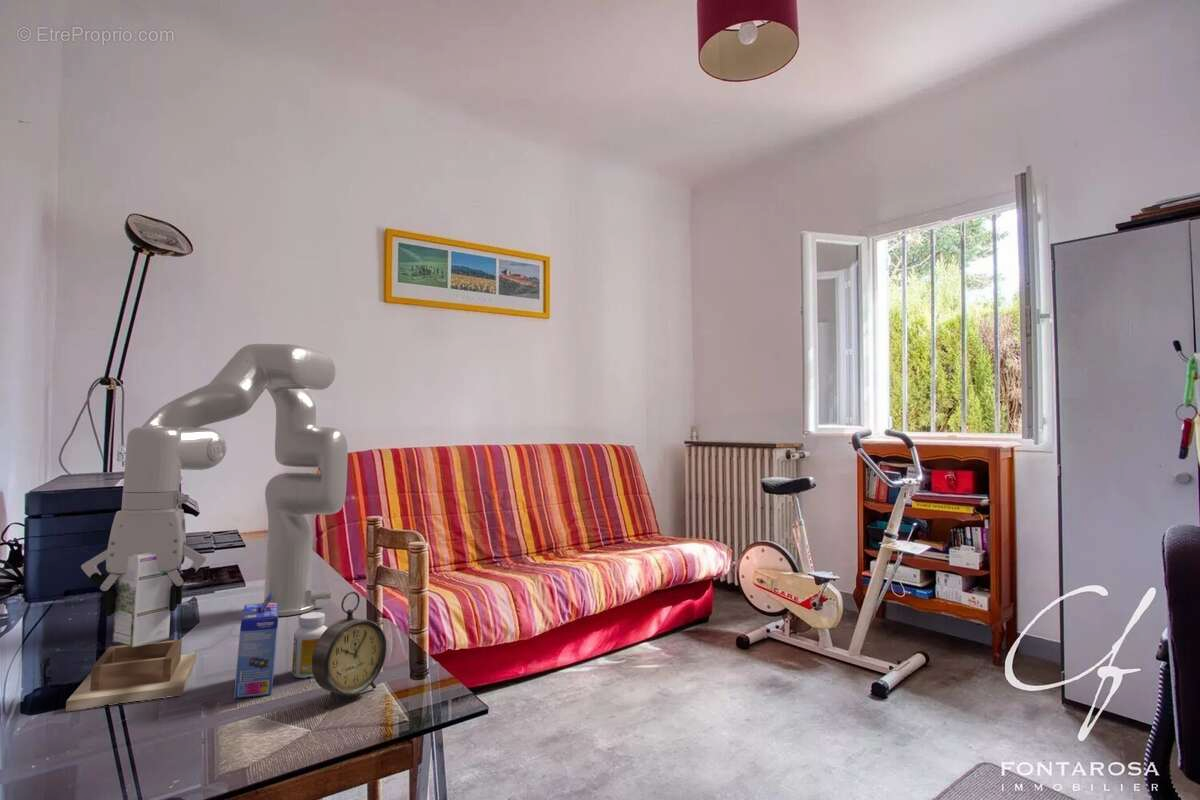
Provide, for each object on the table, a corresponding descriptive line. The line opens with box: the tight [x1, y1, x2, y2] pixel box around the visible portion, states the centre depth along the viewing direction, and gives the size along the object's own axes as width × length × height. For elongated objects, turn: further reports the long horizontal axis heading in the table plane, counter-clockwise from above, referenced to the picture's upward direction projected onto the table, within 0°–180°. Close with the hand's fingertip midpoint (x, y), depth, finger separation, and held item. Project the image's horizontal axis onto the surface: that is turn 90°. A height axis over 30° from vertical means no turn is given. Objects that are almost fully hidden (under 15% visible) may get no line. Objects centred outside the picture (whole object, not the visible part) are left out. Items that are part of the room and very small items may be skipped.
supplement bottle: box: [291, 611, 328, 679], centre depth 106 cm, size 5×5×10 cm
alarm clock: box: [312, 591, 387, 709], centre depth 97 cm, size 11×5×16 cm, turn 148°
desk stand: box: [65, 639, 198, 712], centre depth 100 cm, size 14×16×5 cm
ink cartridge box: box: [233, 592, 279, 699], centre depth 100 cm, size 10×6×14 cm, turn 28°
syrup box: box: [112, 552, 173, 647], centre depth 100 cm, size 6×6×14 cm
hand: (142, 611), depth 100 cm, fingers closed on syrup box, 7 cm apart
